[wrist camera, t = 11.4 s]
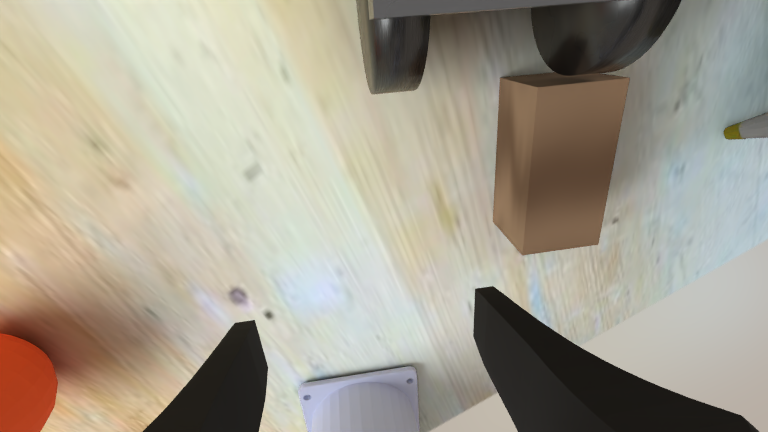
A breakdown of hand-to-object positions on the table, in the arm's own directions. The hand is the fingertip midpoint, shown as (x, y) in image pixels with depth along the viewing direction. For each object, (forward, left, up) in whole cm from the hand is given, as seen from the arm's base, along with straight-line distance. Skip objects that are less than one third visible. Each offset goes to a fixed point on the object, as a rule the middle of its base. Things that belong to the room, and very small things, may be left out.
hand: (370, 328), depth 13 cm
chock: (+2, -10, -10) cm, 14 cm away
